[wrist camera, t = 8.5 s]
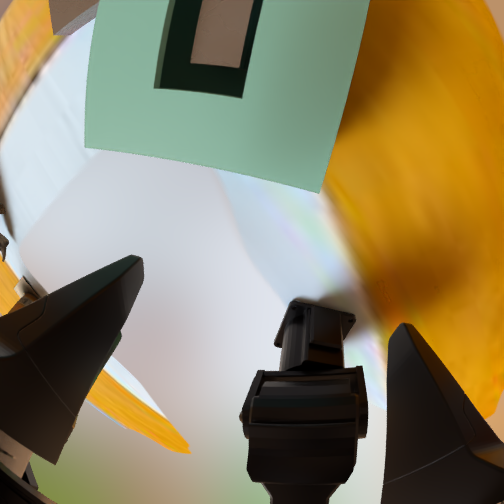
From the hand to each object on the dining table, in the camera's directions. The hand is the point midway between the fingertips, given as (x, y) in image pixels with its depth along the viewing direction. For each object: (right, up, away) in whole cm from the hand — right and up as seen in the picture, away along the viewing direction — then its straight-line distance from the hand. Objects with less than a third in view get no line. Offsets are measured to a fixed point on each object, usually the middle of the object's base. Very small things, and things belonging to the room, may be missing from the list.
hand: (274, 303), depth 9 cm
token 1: (-14, +22, +4) cm, 26 cm away
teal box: (-1, +15, +5) cm, 16 cm away
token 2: (-1, +15, +5) cm, 16 cm away
